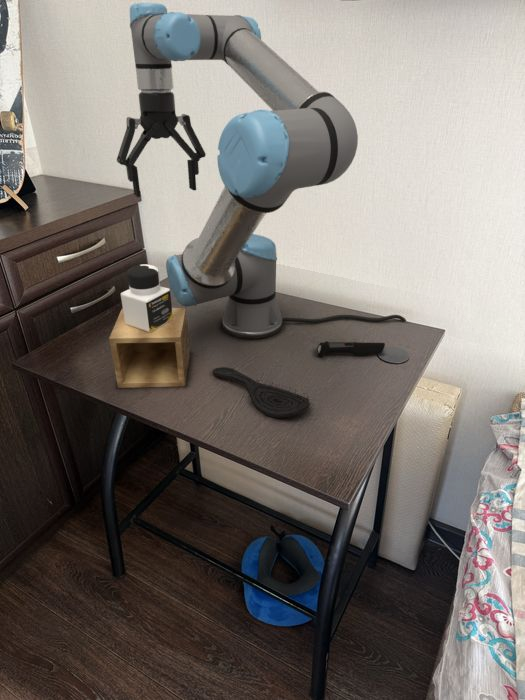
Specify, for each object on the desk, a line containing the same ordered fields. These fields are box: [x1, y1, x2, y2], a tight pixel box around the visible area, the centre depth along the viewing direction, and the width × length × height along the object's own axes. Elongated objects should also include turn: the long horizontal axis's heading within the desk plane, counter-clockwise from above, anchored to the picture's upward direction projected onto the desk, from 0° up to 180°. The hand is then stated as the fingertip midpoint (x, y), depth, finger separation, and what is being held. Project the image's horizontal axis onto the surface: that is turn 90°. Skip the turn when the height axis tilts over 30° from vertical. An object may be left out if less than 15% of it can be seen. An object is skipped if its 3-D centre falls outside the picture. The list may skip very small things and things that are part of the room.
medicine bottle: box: [120, 263, 173, 332], centre depth 101 cm, size 7×7×12 cm
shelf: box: [108, 307, 191, 389], centre depth 107 cm, size 14×13×12 cm
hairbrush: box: [212, 366, 311, 419], centre depth 102 cm, size 8×4×25 cm
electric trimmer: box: [316, 340, 386, 358], centre depth 116 cm, size 4×16×3 cm, turn 91°
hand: (165, 192), depth 118 cm, fingers open, 13 cm apart
